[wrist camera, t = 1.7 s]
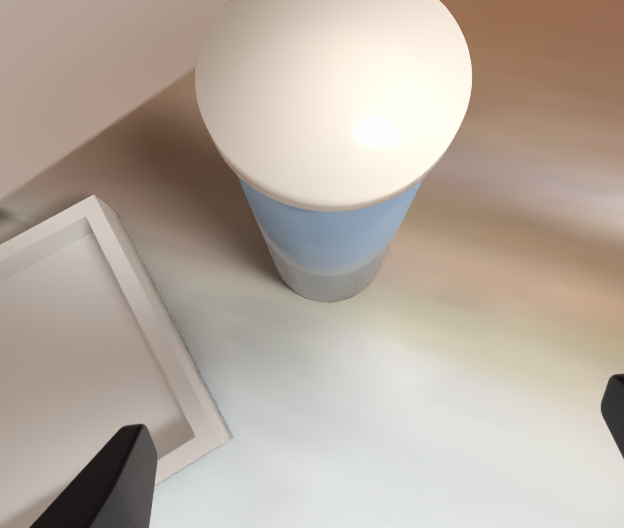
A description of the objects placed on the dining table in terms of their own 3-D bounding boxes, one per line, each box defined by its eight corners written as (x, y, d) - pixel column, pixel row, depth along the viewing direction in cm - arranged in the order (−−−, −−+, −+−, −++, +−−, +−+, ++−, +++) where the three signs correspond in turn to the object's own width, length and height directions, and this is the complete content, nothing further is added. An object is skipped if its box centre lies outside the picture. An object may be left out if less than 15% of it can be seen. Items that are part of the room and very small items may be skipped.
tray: (232, 436, 21) (221, 443, 19) (-30, 600, 20) (-77, 629, 17) (116, 212, 24) (93, 194, 22) (-120, 340, 23) (-170, 336, 20)
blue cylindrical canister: (409, 267, 23) (530, 108, 9) (307, 328, 22) (281, 251, 9) (346, 174, 24) (373, -80, 11) (248, 229, 24) (149, 33, 10)
